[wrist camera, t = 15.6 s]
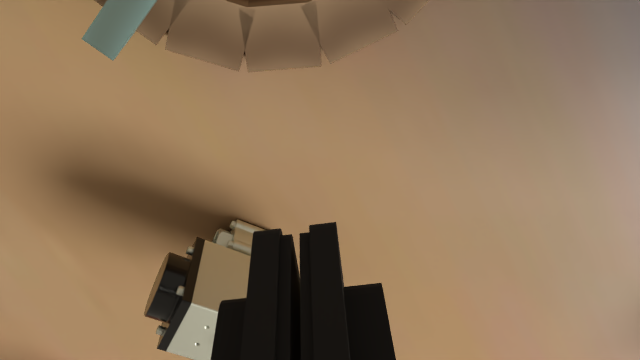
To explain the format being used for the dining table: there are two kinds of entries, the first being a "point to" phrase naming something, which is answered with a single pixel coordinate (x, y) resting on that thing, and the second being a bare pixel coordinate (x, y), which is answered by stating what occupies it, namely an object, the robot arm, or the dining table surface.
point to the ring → (251, 28)
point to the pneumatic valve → (200, 290)
